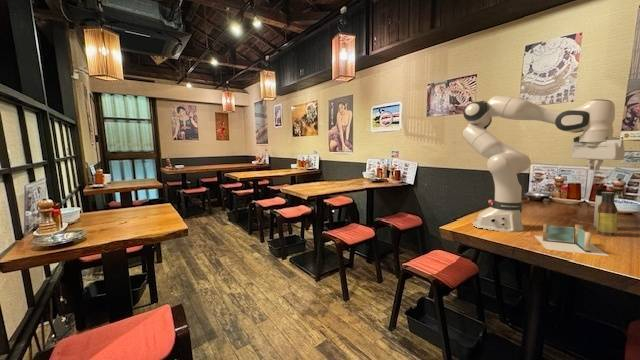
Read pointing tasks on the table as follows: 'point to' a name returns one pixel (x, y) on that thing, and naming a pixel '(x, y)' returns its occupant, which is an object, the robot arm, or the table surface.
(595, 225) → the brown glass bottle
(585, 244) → the hinged panel
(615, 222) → the sauce bottle
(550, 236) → the fixed fence
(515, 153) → the robot arm
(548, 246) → the card
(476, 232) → the table surface
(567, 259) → the table surface
